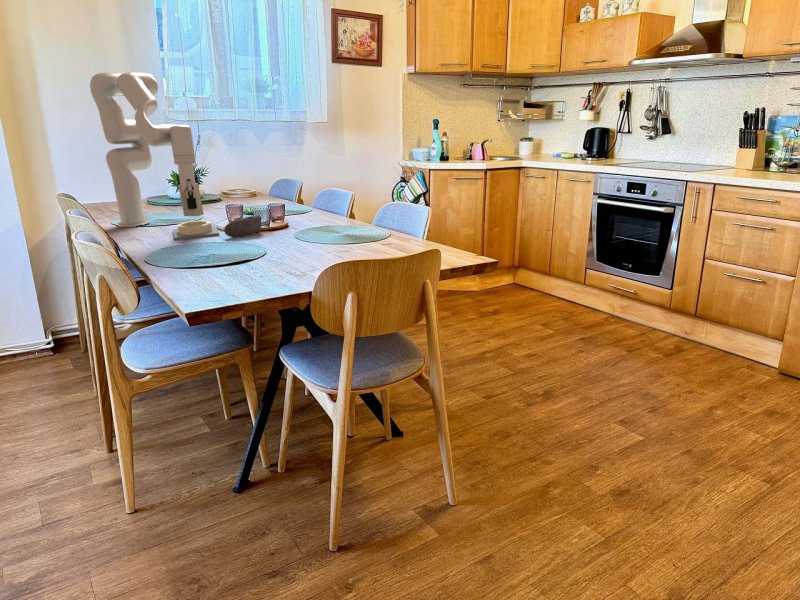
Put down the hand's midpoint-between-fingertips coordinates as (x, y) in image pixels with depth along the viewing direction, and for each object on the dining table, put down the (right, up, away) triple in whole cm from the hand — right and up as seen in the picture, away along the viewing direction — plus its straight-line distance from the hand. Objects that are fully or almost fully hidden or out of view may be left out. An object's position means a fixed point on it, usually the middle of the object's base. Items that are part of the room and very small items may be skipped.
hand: (192, 207), depth 214 cm
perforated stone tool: (+21, -12, -2) cm, 24 cm away
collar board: (0, -10, +3) cm, 10 cm away
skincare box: (0, -3, +1) cm, 3 cm away
